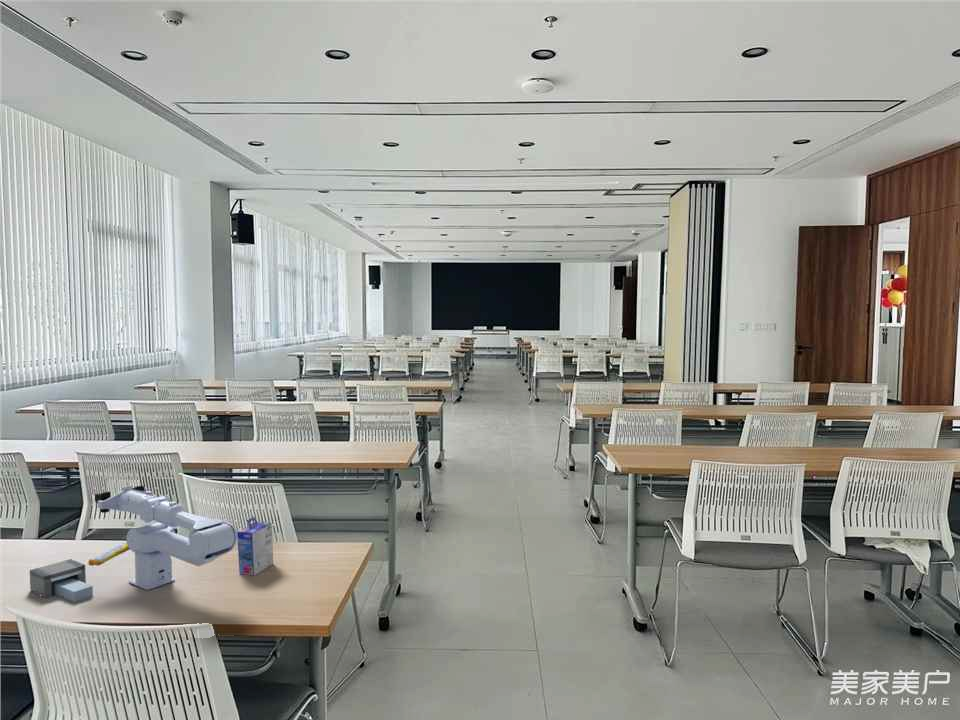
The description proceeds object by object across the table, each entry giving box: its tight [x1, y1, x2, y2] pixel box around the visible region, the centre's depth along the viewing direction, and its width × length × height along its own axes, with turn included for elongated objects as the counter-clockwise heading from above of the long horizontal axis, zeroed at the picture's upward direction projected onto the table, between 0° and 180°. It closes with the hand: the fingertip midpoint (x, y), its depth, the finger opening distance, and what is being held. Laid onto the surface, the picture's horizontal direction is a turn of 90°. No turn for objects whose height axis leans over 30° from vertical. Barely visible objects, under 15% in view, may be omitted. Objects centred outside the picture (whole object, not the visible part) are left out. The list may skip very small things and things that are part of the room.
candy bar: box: [87, 542, 130, 565], centre depth 198 cm, size 17×4×2 cm, turn 174°
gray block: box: [29, 559, 87, 598], centre depth 172 cm, size 9×10×6 cm
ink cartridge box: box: [237, 516, 274, 576], centre depth 186 cm, size 10×6×14 cm, turn 165°
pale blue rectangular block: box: [52, 577, 94, 603], centre depth 170 cm, size 15×4×3 cm, turn 58°
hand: (110, 495), depth 186 cm, fingers open, 7 cm apart
